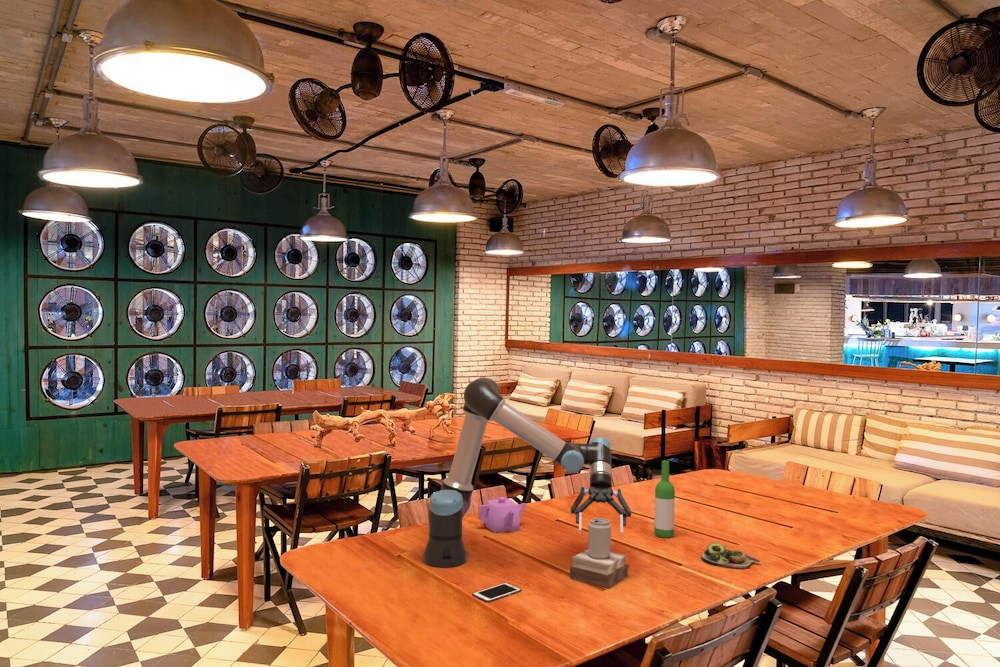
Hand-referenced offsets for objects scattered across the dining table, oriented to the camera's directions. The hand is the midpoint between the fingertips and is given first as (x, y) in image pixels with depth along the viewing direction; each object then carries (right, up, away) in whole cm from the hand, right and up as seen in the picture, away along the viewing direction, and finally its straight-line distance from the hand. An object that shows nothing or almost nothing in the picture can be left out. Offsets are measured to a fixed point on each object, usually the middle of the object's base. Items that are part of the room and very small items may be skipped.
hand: (600, 533), depth 224 cm
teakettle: (-32, -14, +55) cm, 66 cm away
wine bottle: (+33, -15, +48) cm, 60 cm away
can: (0, -8, +1) cm, 8 cm away
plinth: (-1, -15, +1) cm, 15 cm away
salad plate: (+48, -16, +21) cm, 55 cm away
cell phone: (-34, -15, -14) cm, 40 cm away
